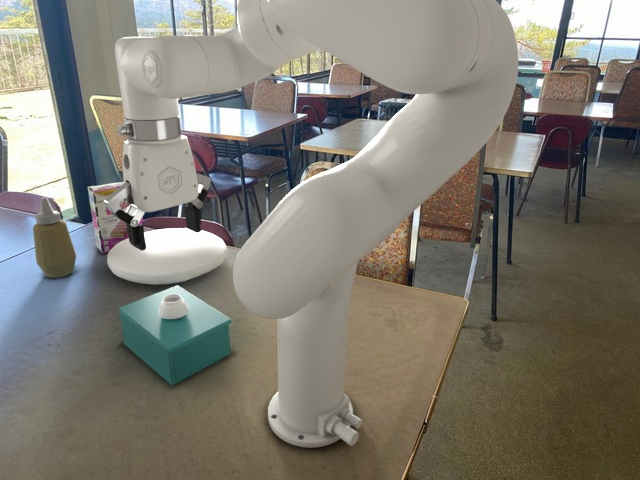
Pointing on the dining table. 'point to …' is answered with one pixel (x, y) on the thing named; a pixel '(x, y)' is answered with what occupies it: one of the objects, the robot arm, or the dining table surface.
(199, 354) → the box
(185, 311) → the white jar
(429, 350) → the dining table surface
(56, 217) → the squeeze bottle
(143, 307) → the lunchbox lid
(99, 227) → the candy bar box
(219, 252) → the plate
